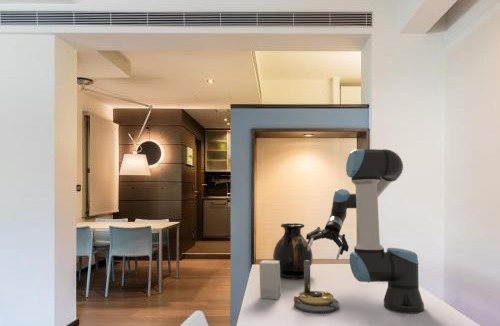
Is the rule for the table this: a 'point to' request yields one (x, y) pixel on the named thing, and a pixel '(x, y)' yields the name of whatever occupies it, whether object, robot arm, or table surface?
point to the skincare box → (270, 279)
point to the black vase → (292, 252)
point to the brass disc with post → (309, 299)
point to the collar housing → (316, 309)
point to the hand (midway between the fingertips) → (322, 252)
